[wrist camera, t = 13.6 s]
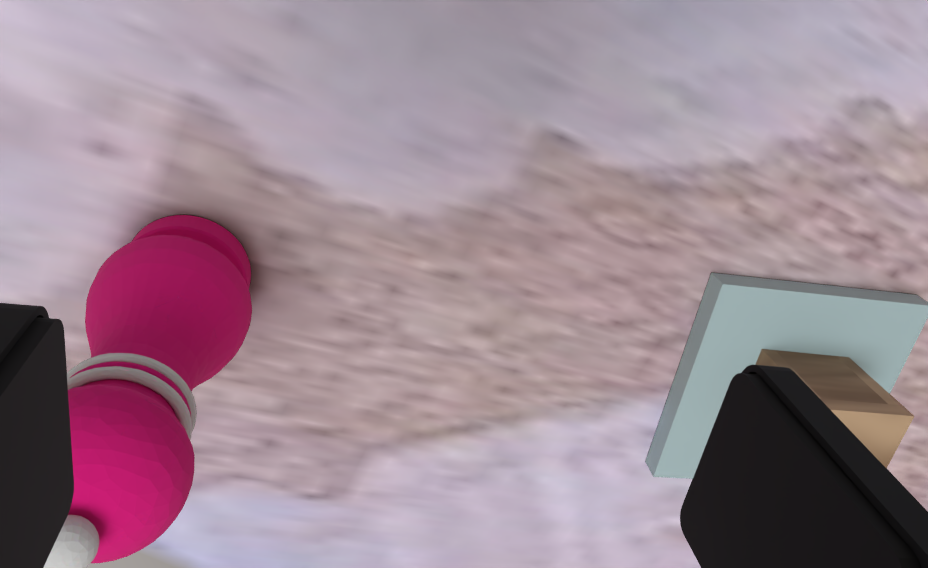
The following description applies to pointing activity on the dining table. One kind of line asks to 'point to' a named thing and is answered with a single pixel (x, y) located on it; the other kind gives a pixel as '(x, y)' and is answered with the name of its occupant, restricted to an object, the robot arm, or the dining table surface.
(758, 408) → the robot arm
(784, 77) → the dining table surface
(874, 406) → the light brown wooden cube
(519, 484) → the dining table surface
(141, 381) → the pepper mill
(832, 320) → the shaft base
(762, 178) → the dining table surface
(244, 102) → the dining table surface
